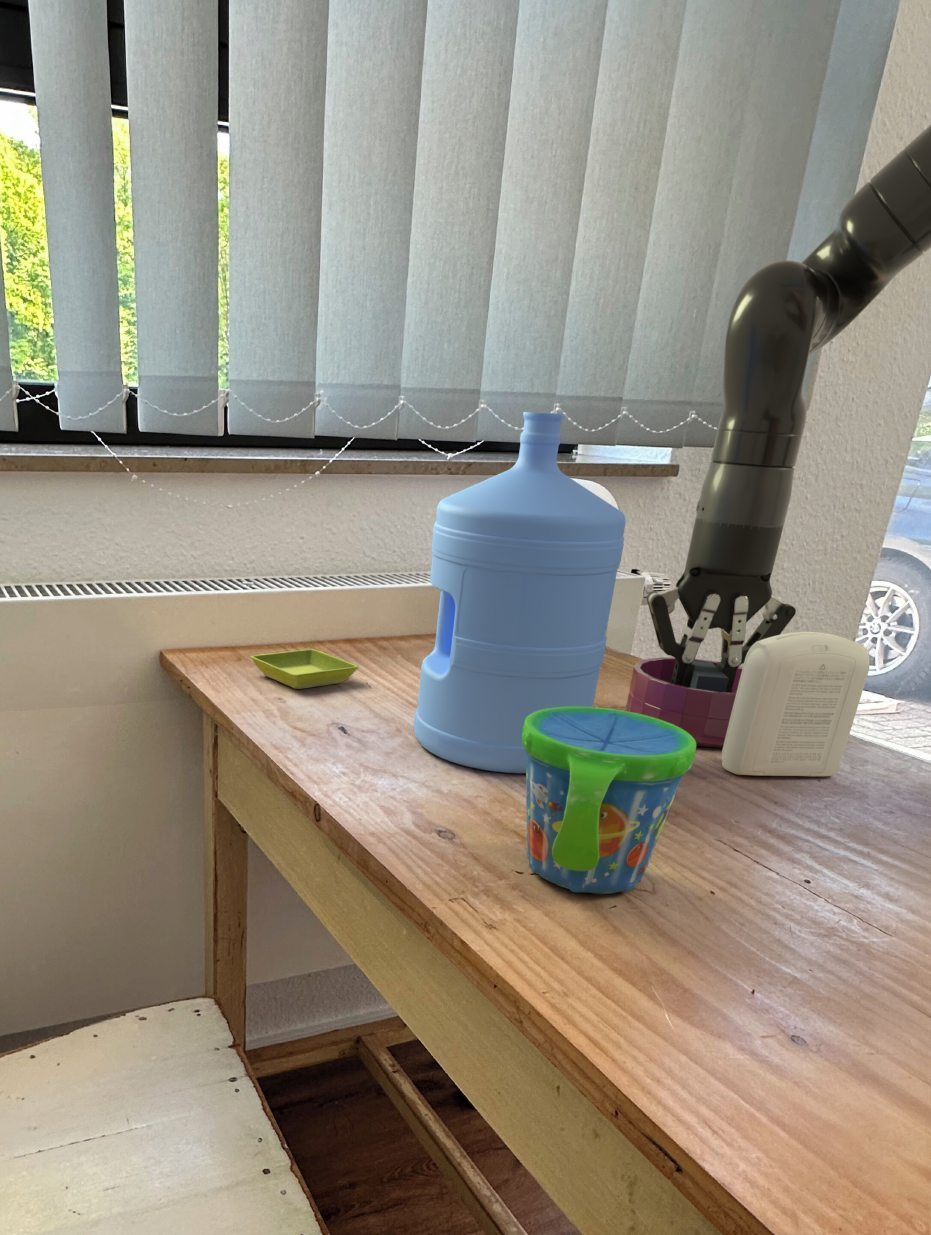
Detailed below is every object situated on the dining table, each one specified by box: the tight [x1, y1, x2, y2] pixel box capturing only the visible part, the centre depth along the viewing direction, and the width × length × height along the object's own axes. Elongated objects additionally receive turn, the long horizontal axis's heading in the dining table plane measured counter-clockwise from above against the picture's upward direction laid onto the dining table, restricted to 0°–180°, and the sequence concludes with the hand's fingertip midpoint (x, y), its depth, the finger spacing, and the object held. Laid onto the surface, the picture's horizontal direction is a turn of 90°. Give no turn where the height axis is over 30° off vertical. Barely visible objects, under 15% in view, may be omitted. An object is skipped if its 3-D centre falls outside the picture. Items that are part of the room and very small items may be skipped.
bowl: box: [625, 657, 743, 749], centre depth 94 cm, size 13×13×6 cm
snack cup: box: [522, 706, 697, 895], centre depth 62 cm, size 16×10×10 cm
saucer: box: [250, 648, 359, 690], centre depth 104 cm, size 9×9×2 cm
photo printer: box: [720, 631, 871, 777], centre depth 82 cm, size 10×4×12 cm, turn 98°
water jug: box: [413, 411, 627, 774], centre depth 81 cm, size 16×16×28 cm
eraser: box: [690, 661, 729, 692], centre depth 93 cm, size 6×3×3 cm, turn 174°
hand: (698, 699), depth 94 cm, fingers closed on eraser, 2 cm apart
